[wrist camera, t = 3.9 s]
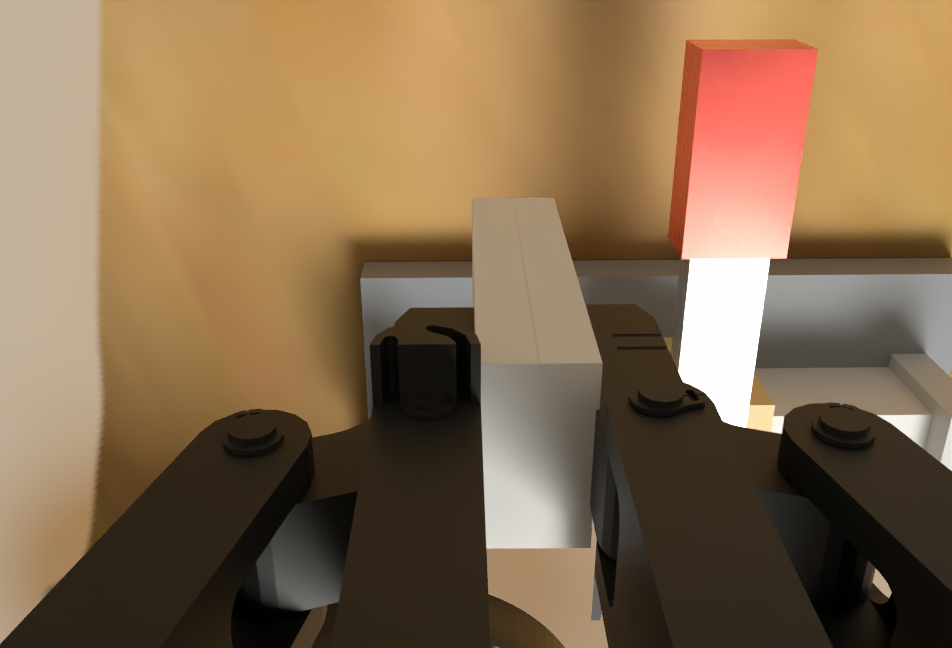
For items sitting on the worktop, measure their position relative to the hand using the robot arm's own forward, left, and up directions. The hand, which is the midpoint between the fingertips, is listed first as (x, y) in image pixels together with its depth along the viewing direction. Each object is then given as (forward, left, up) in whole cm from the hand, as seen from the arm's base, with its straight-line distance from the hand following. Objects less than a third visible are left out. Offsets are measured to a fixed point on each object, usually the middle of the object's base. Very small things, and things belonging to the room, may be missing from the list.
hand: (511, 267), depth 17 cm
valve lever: (+6, -4, -7) cm, 10 cm away
